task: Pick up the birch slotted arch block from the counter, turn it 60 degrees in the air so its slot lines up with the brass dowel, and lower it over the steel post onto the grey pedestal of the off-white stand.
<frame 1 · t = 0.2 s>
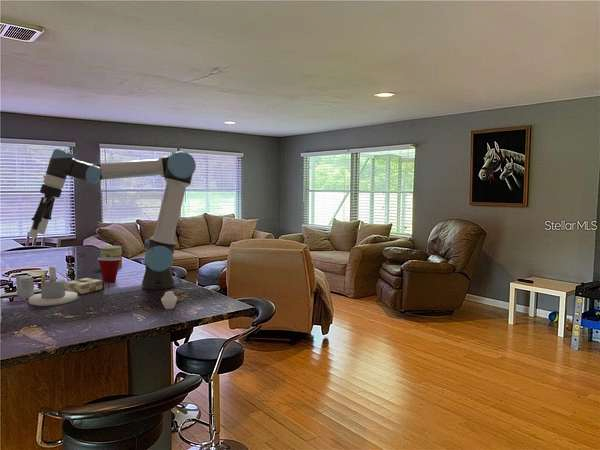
hand: (36, 235, 183), 27 cm above the countertop, tool tilted 20°, fingers open, 13 cm apart
plastic cup: (109, 281, 223), on the countertop
slotted arch block: (84, 289, 205), on the countertop
muffin: (169, 308, 178), on the countertop
medicine box: (25, 297, 191), on the countertop
post stand: (53, 299, 187), on the countertop
canned food: (111, 267, 258), on the countertop
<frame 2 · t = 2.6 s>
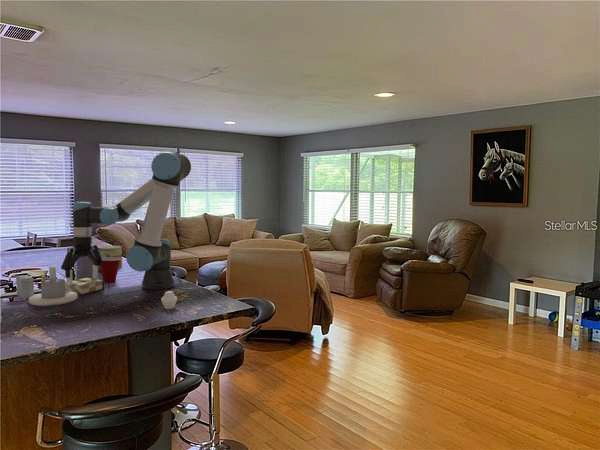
hand: (82, 281, 205), 4 cm above the countertop, tool pointing down, fingers open, 13 cm apart
nothing on the countertop moved.
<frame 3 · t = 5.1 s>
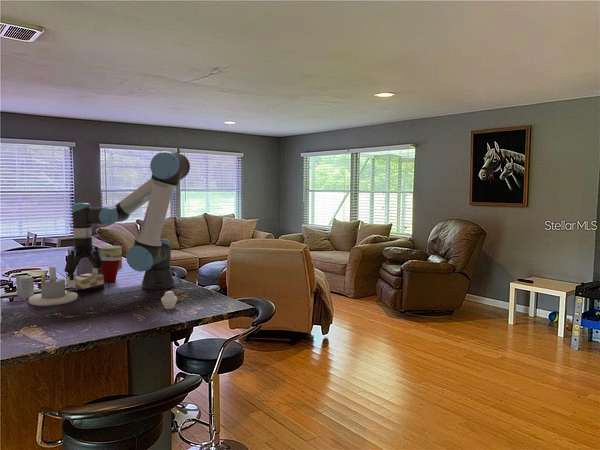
hand: (85, 284, 205), 2 cm above the countertop, tool pointing down, fingers closed on slotted arch block, 11 cm apart
slotted arch block: (85, 285, 205), point 2 cm above the countertop, touching gripper
everything else where it was.
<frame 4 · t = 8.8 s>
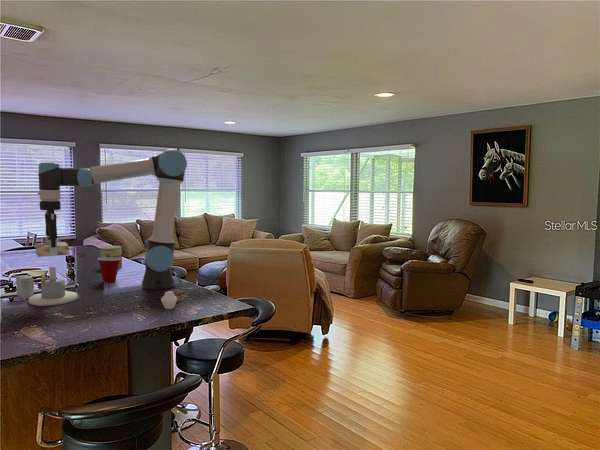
hand: (51, 253, 185), 20 cm above the countertop, tool pointing down, fingers closed on slotted arch block, 11 cm apart
slotted arch block: (52, 253, 185), point 20 cm above the countertop, touching gripper
everything else where it was.
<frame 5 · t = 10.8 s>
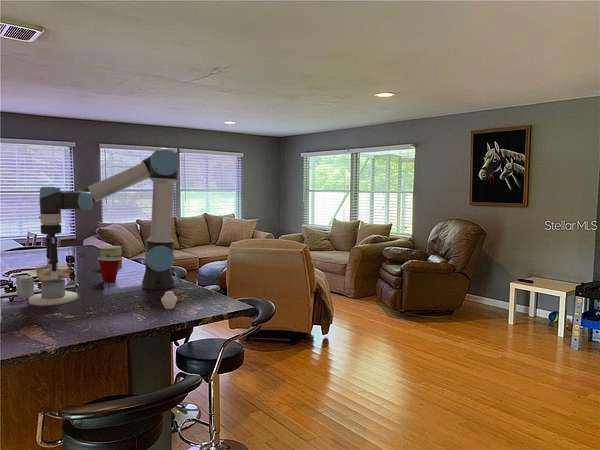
hand: (52, 276, 186), 10 cm above the countertop, tool pointing down, fingers closed on slotted arch block, 11 cm apart
slotted arch block: (52, 276, 186), point 10 cm above the countertop, touching gripper
everything else where it was.
when the fingers open (8 cm above the countertop, at t = 12.3 s): slotted arch block stays where it is, resting on post stand.
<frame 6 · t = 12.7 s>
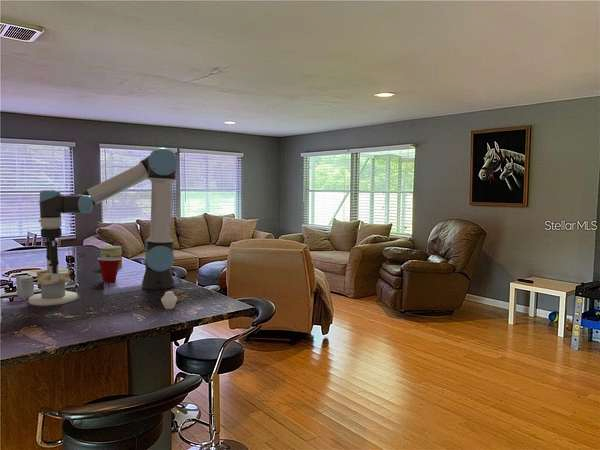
hand: (52, 278, 186), 9 cm above the countertop, tool pointing down, fingers open, 13 cm apart
slotted arch block: (53, 281, 186), point 8 cm above the countertop, touching post stand
everything else where it was.
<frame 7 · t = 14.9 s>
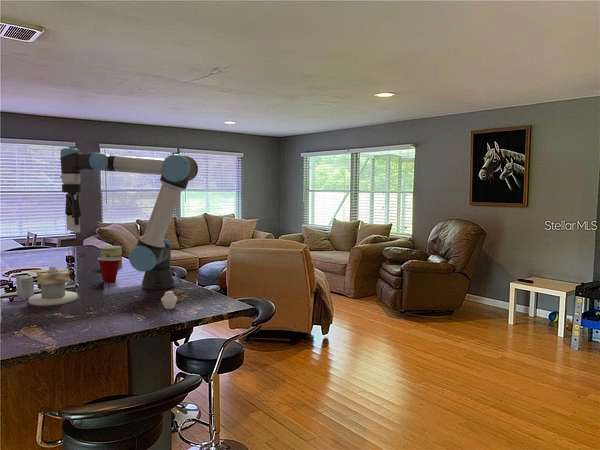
hand: (73, 231, 200), 27 cm above the countertop, tool pointing down, fingers open, 13 cm apart
nothing on the countertop moved.
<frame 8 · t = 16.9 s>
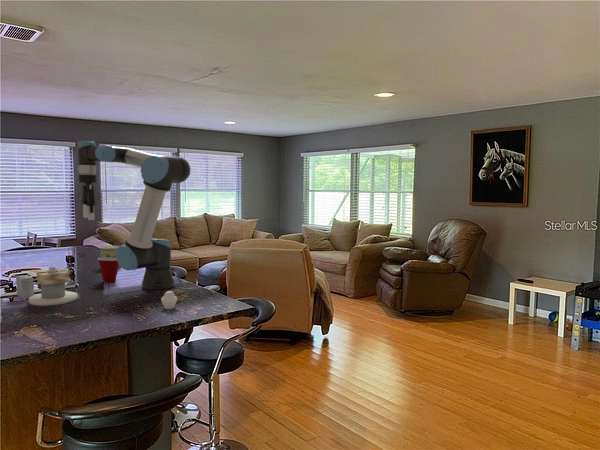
hand: (88, 218, 214), 32 cm above the countertop, tool pointing down, fingers open, 13 cm apart
nothing on the countertop moved.
at the end: slotted arch block 0.1 cm off-centre on the post stand, point 8.0 cm above the post stand's base; slotted arch block tilted 0°; the gripper is holding nothing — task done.
